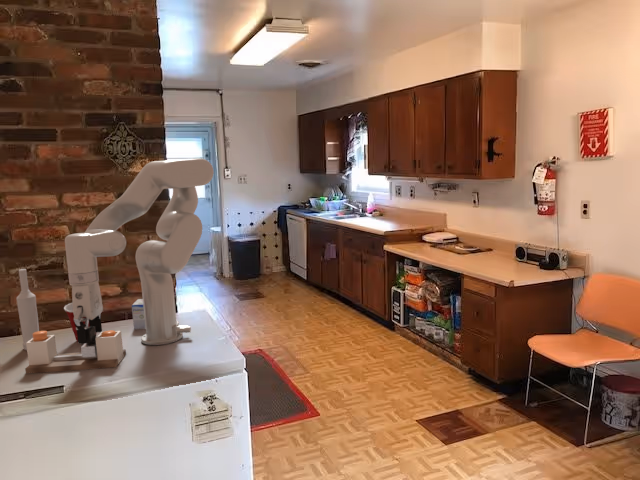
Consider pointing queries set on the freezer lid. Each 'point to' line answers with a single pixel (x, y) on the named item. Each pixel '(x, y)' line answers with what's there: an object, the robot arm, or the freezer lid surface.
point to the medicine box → (138, 315)
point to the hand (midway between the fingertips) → (90, 337)
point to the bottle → (27, 309)
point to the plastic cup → (72, 318)
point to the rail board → (72, 363)
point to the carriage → (90, 344)
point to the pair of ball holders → (47, 351)
